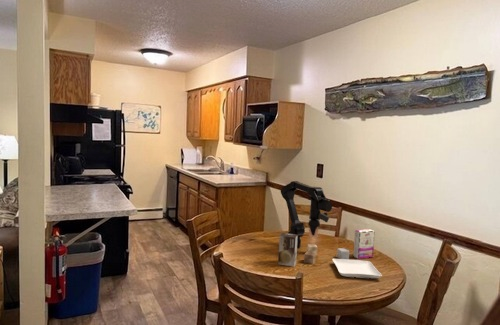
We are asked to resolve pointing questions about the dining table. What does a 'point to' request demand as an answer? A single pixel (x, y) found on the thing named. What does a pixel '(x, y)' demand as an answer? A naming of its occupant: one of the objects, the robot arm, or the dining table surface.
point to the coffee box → (287, 249)
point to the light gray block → (342, 253)
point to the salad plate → (356, 268)
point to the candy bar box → (364, 243)
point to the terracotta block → (314, 234)
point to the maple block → (312, 248)
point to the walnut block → (309, 257)
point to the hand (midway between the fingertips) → (313, 234)
